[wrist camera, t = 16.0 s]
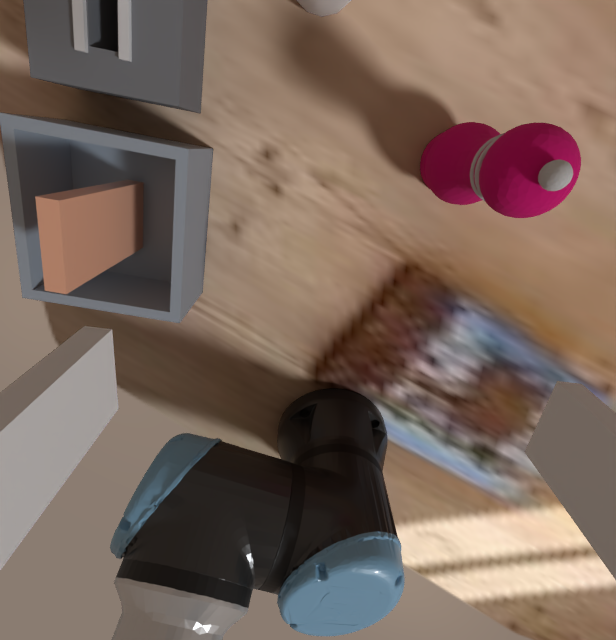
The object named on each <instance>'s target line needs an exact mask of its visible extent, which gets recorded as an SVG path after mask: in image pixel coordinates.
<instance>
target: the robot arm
mask: <svg viewBox="0 0 616 640" xmlns="http://www.w3.org/2000/svg"><path fill="white" fill-rule="evenodd" d="M117 410H118V396H117V383H116V371H115V358H114V346H113V333H112V329H107V328H98V327H90V326H84V327H82V328H81V329H80V330H79V331H77V332H76V333H75V334H74V335H72V336H71V337H70V338H69V339H67V340H66V341H65V342H64V343H62V344H61V345H60V346H58V347H57V348H56V349H55V350H53V351H52V352H51V353H50V354H48V356H46V357H45V358H43V359H42V360H41V361H39V362H38V363H37V364H36V365H35V366H33V367H32V368H31V369H29V370H28V371H27V372H26V373H24V374H23V375H22V376H21V377H19V378H18V379H17V380H16V381H14V382H13V383H12V384H10V385H9V386H8V387H7V388H5V389H4V390H3V391H2V392H0V570H1V569H2V567H3V566H4V565H5V563H6V562H7V560H8V559H9V558H10V556H11V555H12V554H13V552H14V551H15V550H16V548H17V547H18V545H19V544H20V543H21V541H22V540H23V539H24V537H25V536H26V535H27V533H28V532H29V530H30V529H31V528H32V526H33V525H34V524H35V522H36V521H37V520H38V518H39V516H40V515H41V514H42V513H43V511H44V510H45V508H46V507H47V506H48V504H49V503H50V502H51V500H52V499H53V498H54V496H55V495H56V494H57V492H58V491H59V489H60V488H61V487H62V485H63V484H64V483H65V481H66V480H67V478H68V477H69V476H70V474H71V473H72V472H73V470H74V469H75V468H76V466H77V465H78V463H79V462H80V461H81V459H82V458H83V457H84V455H85V454H86V452H87V451H88V450H89V448H90V447H91V445H92V444H93V443H94V441H95V440H96V439H97V437H98V436H99V435H100V433H101V432H102V431H103V429H104V428H105V426H106V425H107V424H108V422H109V421H110V420H111V418H112V417H113V415H114V414H115V413H116V411H117ZM277 443H278V450H279V454H280V457H281V459H278V458H275V457H272V456H268V455H265V454H262V453H258V452H255V451H251V450H248V449H245V448H241V447H238V446H235V445H232V444H229V443H226V442H223V441H222V440H221V439H218V438H216V439H211V438H207V437H202V436H198V435H194V434H190V433H184V434H179V435H177V436H175V437H173V438H172V439H170V440H169V441H168V442H167V443H166V444H165V446H164V447H163V448H162V449H161V451H160V452H159V454H158V455H157V456H156V458H155V459H154V461H153V462H152V464H151V466H150V467H149V469H148V470H147V472H146V473H145V475H144V477H143V479H142V481H141V482H140V484H139V485H138V487H137V489H136V491H135V493H134V494H133V496H132V498H131V500H130V502H129V504H128V506H127V508H126V510H125V512H124V517H123V518H122V519H121V521H120V524H119V526H118V527H117V529H116V531H115V533H114V536H113V538H112V541H111V545H110V549H111V552H112V553H113V554H115V556H116V558H119V559H121V558H122V557H124V559H123V561H122V564H121V566H120V569H119V571H118V574H117V576H116V579H115V582H114V583H115V586H116V589H117V592H118V595H119V598H120V601H121V604H122V614H121V617H120V619H119V622H118V624H117V627H116V630H115V632H114V635H113V637H112V640H223V636H224V634H225V633H226V631H227V630H228V629H229V628H230V627H231V626H232V625H233V624H235V623H236V622H237V621H238V620H239V619H241V618H242V617H243V616H244V615H245V614H246V613H247V611H248V607H249V602H250V598H251V594H252V590H253V589H258V590H262V591H266V592H270V593H274V594H277V595H278V602H277V603H278V607H279V609H280V613H281V616H282V618H283V620H284V621H285V622H286V623H287V624H290V627H292V628H293V629H294V630H296V631H299V632H301V633H304V634H308V635H313V636H337V635H343V634H348V633H352V632H355V631H358V630H361V629H363V628H366V627H368V626H370V625H372V624H374V623H376V622H378V621H379V620H381V619H382V618H384V617H385V616H386V615H387V614H388V613H389V612H390V611H391V610H392V609H393V608H394V607H395V606H396V604H397V603H398V601H399V599H400V597H401V595H402V592H403V588H404V570H403V563H402V556H401V543H400V541H399V539H398V537H397V533H396V529H395V524H394V520H393V516H392V511H391V507H390V503H389V498H388V494H387V490H386V486H385V481H384V477H383V473H382V470H383V465H384V460H385V454H386V449H387V431H386V427H385V424H384V420H383V417H382V415H381V413H380V411H379V410H378V409H377V407H376V406H375V405H374V404H373V403H372V402H371V401H369V400H368V399H367V398H365V397H363V396H362V395H360V394H357V393H355V392H352V391H348V390H343V389H323V390H318V391H314V392H311V393H308V394H306V395H304V396H302V397H300V398H299V399H297V400H296V401H294V402H293V403H292V404H291V405H290V406H289V407H288V408H287V409H286V411H285V412H284V414H283V416H282V418H281V420H280V423H279V428H278V438H277ZM525 453H526V455H527V456H528V457H529V459H530V460H531V462H532V463H533V464H534V466H535V467H536V469H537V470H538V471H539V473H540V474H541V476H542V477H543V478H544V480H545V481H546V483H547V484H548V485H549V487H550V488H551V490H552V491H553V492H554V494H555V495H556V497H557V498H558V499H559V501H560V502H561V504H562V505H563V506H564V508H565V509H566V511H567V512H568V513H569V515H570V516H571V518H572V519H573V520H574V522H575V523H576V525H577V526H578V528H579V529H580V530H581V532H582V533H583V535H584V536H585V537H586V539H587V540H588V542H589V543H590V544H591V546H592V547H593V549H594V550H595V551H596V553H597V554H598V556H599V557H600V558H601V560H602V561H603V563H604V564H605V565H606V567H607V568H608V570H609V571H610V572H611V574H612V575H613V577H614V578H615V579H616V413H615V412H614V411H612V410H611V409H610V408H609V407H608V406H607V405H605V404H604V403H603V402H602V401H601V400H600V399H598V398H597V397H596V396H595V395H594V394H593V393H591V392H590V391H589V390H588V389H587V388H586V387H585V386H583V385H582V384H577V383H569V382H560V381H557V383H556V385H555V387H554V389H553V392H552V394H551V396H550V398H549V400H548V402H547V405H546V407H545V409H544V411H543V413H542V415H541V418H540V420H539V422H538V424H537V426H536V428H535V431H534V433H533V435H532V437H531V439H530V442H529V444H528V446H527V448H526V450H525Z"/></svg>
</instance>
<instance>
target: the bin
mask: <svg viewBox="0 0 616 640" xmlns="http://www.w3.org/2000/svg"><path fill="white" fill-rule="evenodd" d="M0 125H1V133H2V141H3V149H4V157H5V164H6V172H7V180H8V188H9V196H10V203H11V211H12V219H13V227H14V235H15V243H16V250H17V258H18V265H19V273H20V282H21V289H22V297H23V298H27V299H34V300H40V301H46V302H52V303H58V304H64V305H70V306H77V307H83V308H89V309H95V310H101V311H108V312H114V313H120V314H126V315H132V316H138V317H145V318H151V319H157V320H163V321H169V322H176V323H180V322H181V321H182V319H183V318H184V317H185V315H186V314H187V313H188V311H189V310H190V309H191V307H192V306H193V304H194V303H195V302H196V300H197V299H198V298H199V296H200V295H201V294H202V292H203V280H204V266H205V253H206V239H207V226H208V212H209V199H210V185H211V172H212V158H213V148H208V147H203V146H197V145H192V144H187V143H182V142H177V141H172V140H167V139H161V138H156V137H151V136H146V135H141V134H136V133H130V132H125V131H120V130H115V129H110V128H105V127H100V126H94V125H89V124H84V123H79V122H74V121H69V120H63V119H54V118H45V117H36V116H27V115H18V114H9V113H0ZM123 180H133V181H138V182H144V190H143V248H142V249H140V250H138V251H137V252H135V253H133V254H132V255H130V256H128V257H127V258H125V259H124V260H122V261H120V262H119V263H117V264H115V265H114V266H112V267H110V268H109V269H107V270H105V271H104V272H102V273H101V274H99V275H97V276H96V277H94V278H92V279H91V280H89V281H87V282H86V283H84V284H82V285H81V286H79V287H77V288H76V289H74V290H73V291H71V292H69V293H68V294H62V293H56V292H50V291H45V287H44V277H43V268H42V258H41V248H40V238H39V228H38V219H37V209H36V199H35V196H40V195H46V194H51V193H57V192H62V191H68V190H73V189H79V188H84V187H90V186H95V185H101V184H106V183H112V182H117V181H123Z"/></svg>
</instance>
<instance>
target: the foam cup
mask: <svg viewBox="0 0 616 640" xmlns="http://www.w3.org/2000/svg"><path fill="white" fill-rule="evenodd" d="M350 1H351V0H297V2H298V3H299V4H300V5H301V6H302V7H303V8H304V9H305V10H306V11H307V12H309V13H312V14H315V15H318V16H321V17H323V16H327V15H332V14H336V13H338V12H339V11H340V10H341V9H343V8H344V7H345V6H346V5H347V4H348V3H349V2H350Z"/></svg>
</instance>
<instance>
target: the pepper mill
mask: <svg viewBox="0 0 616 640" xmlns="http://www.w3.org/2000/svg"><path fill="white" fill-rule="evenodd" d="M580 166H581V157H580V151H579V148H578V146H577V143H576V141H575V140H574V139H573V137H572V136H571V135H570V134H569V133H568V132H566V131H565V130H564V129H562V128H561V127H558V126H555V125H552V124H548V123H530V124H524V125H520V126H518V127H515V128H513V129H511V130H509V131H507V132H506V133H504V134H500V133H499V132H497V131H496V130H495V129H494V128H492V127H490V126H488V125H485V124H481V123H475V122H468V123H462V124H458V125H456V126H453V127H451V128H450V129H448V130H446V131H445V132H443V133H441V134H439V135H437V136H436V137H435V138H434V139H432V140H431V141H430V143H429V144H428V145H427V146H426V148H425V150H424V152H423V154H422V157H421V162H420V171H421V176H422V179H423V181H424V183H425V184H426V186H427V187H428V188H429V189H431V190H432V192H433V193H434V194H435V195H436V196H437V197H438V198H440V199H441V200H443V201H445V202H448V203H451V204H459V205H467V204H472V203H475V202H478V201H481V200H484V201H486V203H487V204H488V205H489V206H490V207H491V208H492V209H493V210H495V211H496V212H498V213H500V214H502V215H504V216H509V217H514V218H528V217H534V216H537V215H541V214H543V213H545V212H547V211H550V210H551V209H553V208H554V207H556V206H557V205H558V204H560V203H561V202H562V201H563V200H564V199H565V198H566V197H567V195H568V194H569V193H570V192H571V190H572V188H573V187H574V185H575V183H576V181H577V178H578V175H579V172H580Z"/></svg>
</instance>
